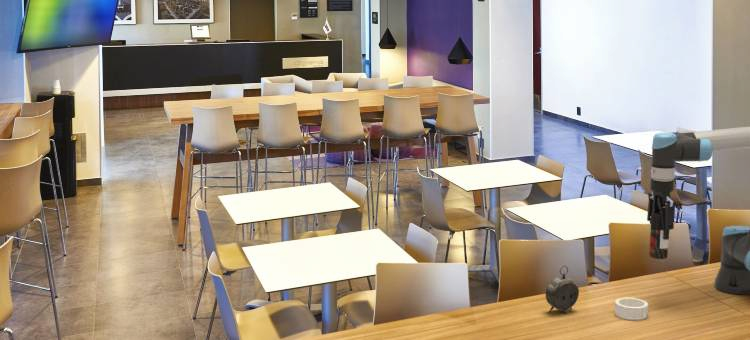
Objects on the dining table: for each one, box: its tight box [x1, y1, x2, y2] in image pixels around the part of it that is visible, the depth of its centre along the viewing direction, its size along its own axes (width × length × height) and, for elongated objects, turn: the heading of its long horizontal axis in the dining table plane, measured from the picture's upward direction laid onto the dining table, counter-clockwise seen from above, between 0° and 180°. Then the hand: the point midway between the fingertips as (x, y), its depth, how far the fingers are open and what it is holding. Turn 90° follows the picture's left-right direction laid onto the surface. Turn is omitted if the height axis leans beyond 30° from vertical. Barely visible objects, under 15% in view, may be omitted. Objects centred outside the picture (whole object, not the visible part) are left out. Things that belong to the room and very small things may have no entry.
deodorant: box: [648, 211, 669, 260], centre depth 299 cm, size 6×6×15 cm
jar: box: [614, 297, 649, 321], centre depth 293 cm, size 10×10×4 cm
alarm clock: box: [545, 265, 580, 315], centre depth 296 cm, size 11×5×16 cm, turn 112°
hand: (658, 245), depth 300 cm, fingers closed on deodorant, 6 cm apart
